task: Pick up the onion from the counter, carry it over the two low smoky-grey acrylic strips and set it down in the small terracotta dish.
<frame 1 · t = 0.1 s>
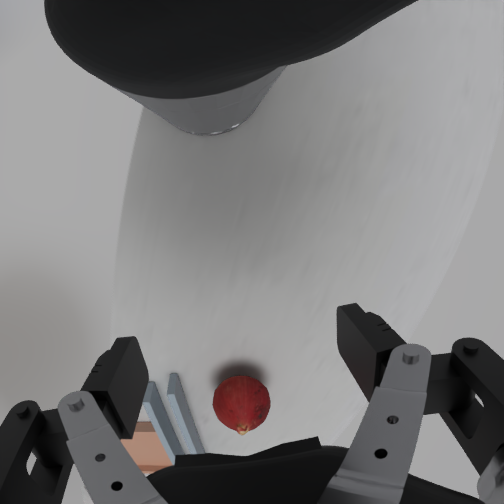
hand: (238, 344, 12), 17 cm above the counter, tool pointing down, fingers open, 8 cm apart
onion: (239, 379, 33), on the counter
terracotta dish: (136, 445, 36), on the counter
acrylic wall a: (190, 420, 35), on the counter
acrylic wall b: (169, 427, 35), on the counter
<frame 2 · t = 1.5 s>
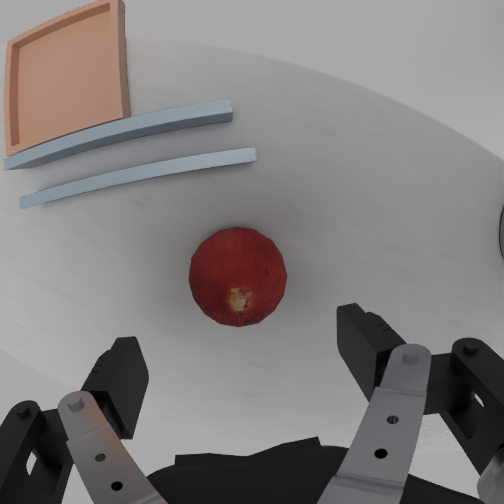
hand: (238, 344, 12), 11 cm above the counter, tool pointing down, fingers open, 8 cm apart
onion: (236, 258, 23), on the counter
terracotta dish: (65, 76, 18), on the counter
acrylic wall a: (136, 175, 20), on the counter
acrylic wall b: (118, 136, 20), on the counter
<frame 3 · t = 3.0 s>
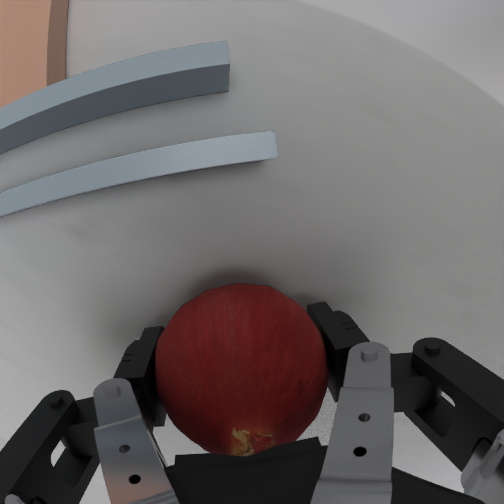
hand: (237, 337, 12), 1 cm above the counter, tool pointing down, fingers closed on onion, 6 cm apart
onion: (236, 318, 14), on the counter, touching gripper
acrylic wall a: (73, 186, 12), on the counter
acrylic wall b: (47, 125, 11), on the counter
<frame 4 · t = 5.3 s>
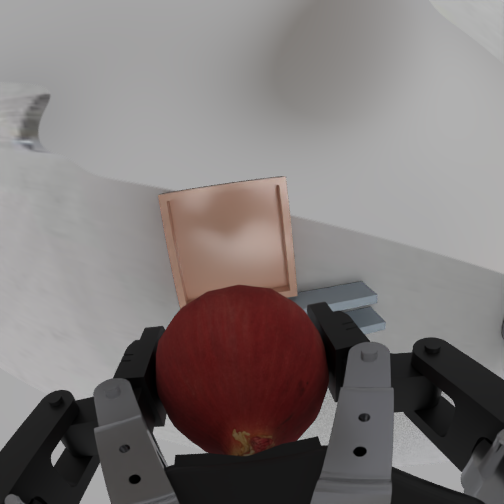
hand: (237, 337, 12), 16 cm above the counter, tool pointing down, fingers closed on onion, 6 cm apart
onion: (236, 320, 14), point 14 cm above the counter, touching gripper
terracotta dish: (230, 242, 27), on the counter
acrylic wall a: (295, 325, 30), on the counter
acrylic wall b: (282, 299, 29), on the counter
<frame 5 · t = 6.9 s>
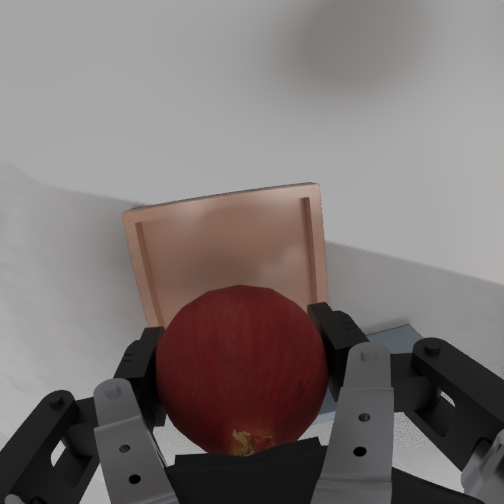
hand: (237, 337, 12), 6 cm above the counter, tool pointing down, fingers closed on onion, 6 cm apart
onion: (236, 320, 14), point 5 cm above the counter, touching gripper
terracotta dish: (233, 281, 19), on the counter
acrylic wall a: (320, 383, 21), on the counter
acrylic wall b: (305, 354, 20), on the counter
when the fingers open (3 cm above the counter, at t = 8.0 s): onion drops 1 cm, resting on terracotta dish.
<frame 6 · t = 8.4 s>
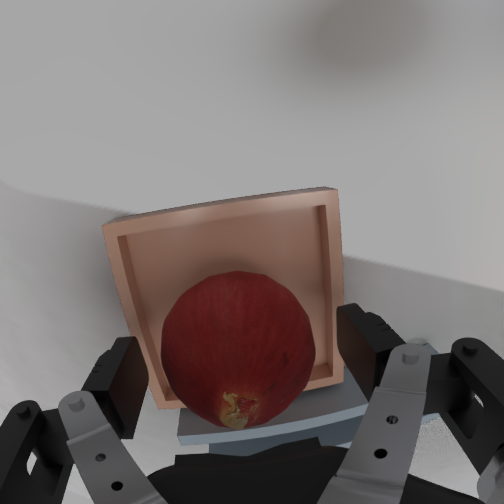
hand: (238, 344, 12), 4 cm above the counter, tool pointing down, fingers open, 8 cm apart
onion: (237, 306, 15), resting on terracotta dish
terracotta dish: (234, 301, 16), on the counter
acrylic wall a: (331, 409, 18), on the counter
acrylic wall b: (316, 379, 18), on the counter
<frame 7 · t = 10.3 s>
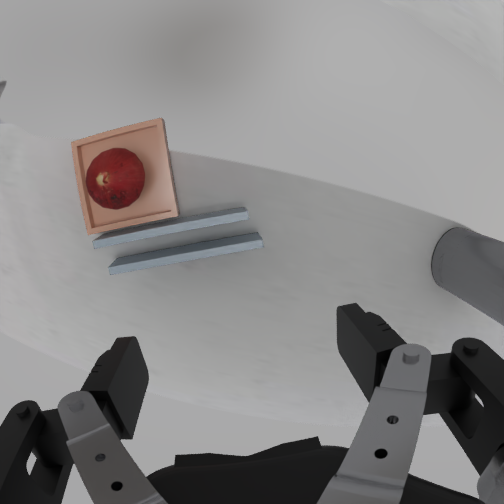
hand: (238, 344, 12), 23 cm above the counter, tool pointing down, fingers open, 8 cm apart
onion: (126, 177, 31), resting on terracotta dish
terracotta dish: (125, 176, 31), on the counter
acrylic wall a: (185, 248, 34), on the counter
acrylic wall b: (171, 223, 33), on the counter
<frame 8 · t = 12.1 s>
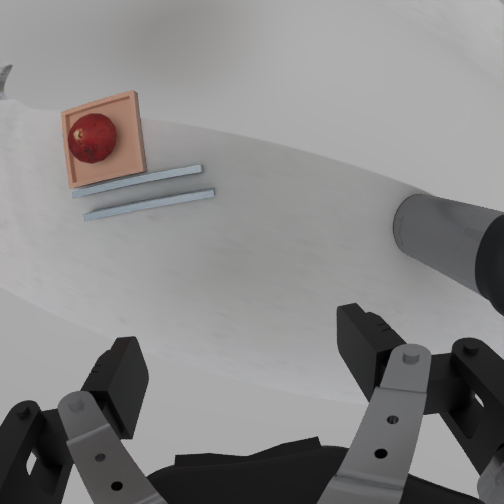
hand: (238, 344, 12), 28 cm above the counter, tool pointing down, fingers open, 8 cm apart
onion: (104, 140, 34), resting on terracotta dish
terracotta dish: (104, 140, 35), on the counter
acrylic wall a: (151, 202, 37), on the counter
acrylic wall b: (139, 179, 37), on the counter
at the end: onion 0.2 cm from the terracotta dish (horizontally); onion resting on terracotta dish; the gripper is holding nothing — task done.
